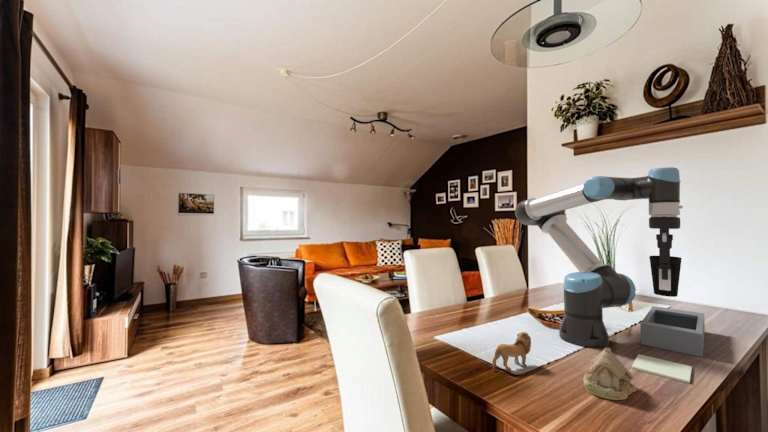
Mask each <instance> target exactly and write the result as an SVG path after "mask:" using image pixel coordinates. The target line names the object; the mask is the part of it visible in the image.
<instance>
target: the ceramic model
mask: <svg viewBox="0 0 768 432" xmlns="http://www.w3.org/2000/svg"><path fill="white" fill-rule="evenodd" d="M632 380H634V374H633V373H632V372H631V371H630V370H629V369H628V368H627V367H626V365H624V363H622V362H621V361H620V360H619V358H618V357H617V355H616V354H614V353H613V352H612V350H611V348H610V347H608V346H604V349H602V351H601V352H599V354H597V355H596V356H595V357H594V358H593V357H592V359H591V361H590V367H589V369H588V370H587V371H586V372H585V373H584V375H583V380H582V381H583V387H584V389H585V390H586V392H587V393H589V394H591V395H594V396H596V397H599V398H602V399H607V400H612V401H624V400H626V399H628V397H629V395H631V394H633V393H635V392H636V391H637V390H638V388H637V386H636V385H635V384H633V383H632V382H631V381H632Z"/></svg>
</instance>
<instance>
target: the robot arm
mask: <svg viewBox="0 0 768 432" xmlns="http://www.w3.org/2000/svg"><path fill="white" fill-rule="evenodd" d="M680 177H681V176H680V170H679V169H678V168H677V167H673V166H671V167H670V166H668V167H665V166H664V167H657V168H650V169H649V170H648V174H647V176H646V175H645V176H639V177H617V176H615V177H614V176H604V175H599V176H591V177H589V178H588V179H587V180H586V181H585V182H583V183H580V184H578V185H574V186H572V187H569V188H566V189H562V190H559V191H556V192H553V193H550V194H548V195H545V196H544V195H543V196H541V197H537V198H535V197H531V198H528V199H525V200H522V201H520V202H519V203H518V204H517V205H516V207H515V210H514V214H515V215H514V216H515V217H516V220H517V221H518V222H519V223H520V224H522V225H524V226H537V227H538V228H539V229H540V230H541V232H542V233H544V234H549V236H550V238H552V240H553V241H554V242H555V244H557V246H558V247H559V249H561V251H562V252H563V254H564V255H565V256H566V257H567V258H568V259H569V261H570V262H571V263H572V265H573V266H574V267H575V268H576V269H577V270H578V271H577V272H572V273H568V274H566V275H565V276H564V278H563V284H562V285H563V287H562V288H563V303H564V304H563V305H564V306H563V307H564V309H563V310H564V312H563V313H564V315H563V318H562V320H561V324H560V327H559V330H558V331H559V332H558V333H559V334H558V335H559V337H560V339H562V340H563V341H566V342H567V343H571V344H574V345H579V346H583V347H590V348H603V347H604V348H605V347H608V346H609V345H610V336H609V334H608V330H607V328H606V326H605V323H604V319H603V309H607V308H609V309H610V308H615V307H616V308H619V307H623V306H627V305H630V303H632V302H633V301H634V299H635V297H636V291H637V289H636V286H635V283H634V282H633V279H631V278H630V277H629V276H628V275H625V274H623V273H618V272H617V271H616V269H614V268H613V267H612V265H610V264H606V263H603V262H602V261H601V260H600V259H599V257H598V256H597V255H596V254H595V252H593V251H592V250H591V248H590V247H589V246H588V245H587V243H585V242H584V240H583V239H582V238H581V237H580V236H579V235H578V234H577V232H575V231H574V229H573V228H572V227H571V226H570V225H569V224H568V223H567V220H568V218H567V213H566V212H567V211H566V210H569V209H574V208H577V207H580V206H584V205H588V204H592V203H596V202H601V201H604V200H615V201H629V200H644V199H645V200H647V199H648V215H649V216H650V217H649V218H648V227H649V229H654V230H655V229H657V230H658V229H659V233H658V234H657V233H656V234H655V235H656V236H655V239H656V242H657V243H656V245H657V248H658V249H659V251H658V252H659V254H658V256H659V266H656V268H657V269H659V290H668V291H671V269H670V268H671V265H670V256H671V249H672V248H673V239H674V235H673V234H670V230H675V229H676V230H679V229H680V228H681V218H680V217H679V216H680V215H681V210H682V209H683V208H684V206H683V205H680V204H681V203H680V202H681V196H680V195H681V193H680V191H681V178H680ZM680 209H681V210H680Z"/></svg>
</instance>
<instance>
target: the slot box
mask: <svg viewBox="0 0 768 432" xmlns="http://www.w3.org/2000/svg"><path fill="white" fill-rule="evenodd" d="M705 329H706V328H705V313H703V312H697V311H690V310H682V309H674V308H668V307H660V306H656V305H655V306H653V305H652V306H651V307H650V309H649V311H648V312H647V313H646V315H645V317H644V318H643V319H642V321H641V322H640V345H643V346H649V347H652V348H653V347H654V348H659V349H664V350H667V351H671V352H672V351H673V352H677V353H681V354H686V355H689V356H690V355H691V356H697V357H701V358H703V357H704V346H705V345H704V344H705V335H706V334H705V331H706V330H705Z"/></svg>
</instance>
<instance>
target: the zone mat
mask: <svg viewBox="0 0 768 432" xmlns="http://www.w3.org/2000/svg"><path fill="white" fill-rule="evenodd" d="M631 369H633V370H637V371H641V372H644V373H648V374H652V375H654V376H659V377H662V378H667V379H670V380H674V381H679V382H683V383H686V382H687V383H686V384H689V383H691V377H692V369H693V367H692V366H691V365H687V364H682V363H679V362H674V361H670V360H665V359H661V358H658V357H657V358H656V357H654V356H649V355H648V356H647V355H643V354H640V353H639V354H637V356H636V357H635V359H634V361H633V363H632V365H631Z"/></svg>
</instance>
